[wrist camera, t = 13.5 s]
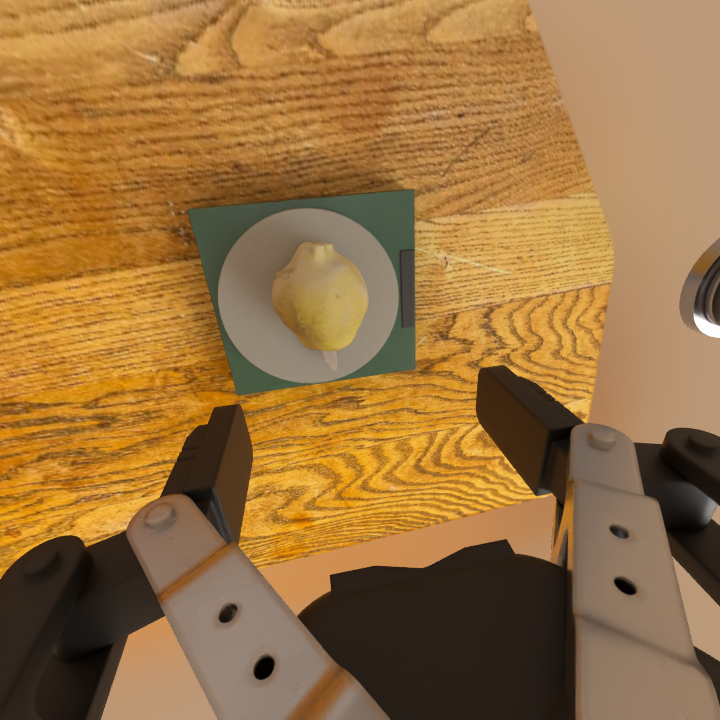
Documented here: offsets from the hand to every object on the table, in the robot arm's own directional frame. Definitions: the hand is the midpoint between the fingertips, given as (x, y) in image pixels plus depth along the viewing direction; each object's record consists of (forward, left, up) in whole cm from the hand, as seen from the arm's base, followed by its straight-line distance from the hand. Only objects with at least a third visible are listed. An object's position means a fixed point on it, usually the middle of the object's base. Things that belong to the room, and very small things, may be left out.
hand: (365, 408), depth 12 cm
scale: (+1, +1, -19) cm, 19 cm away
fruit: (0, +1, -16) cm, 16 cm away
